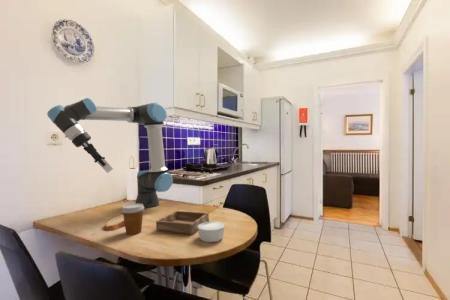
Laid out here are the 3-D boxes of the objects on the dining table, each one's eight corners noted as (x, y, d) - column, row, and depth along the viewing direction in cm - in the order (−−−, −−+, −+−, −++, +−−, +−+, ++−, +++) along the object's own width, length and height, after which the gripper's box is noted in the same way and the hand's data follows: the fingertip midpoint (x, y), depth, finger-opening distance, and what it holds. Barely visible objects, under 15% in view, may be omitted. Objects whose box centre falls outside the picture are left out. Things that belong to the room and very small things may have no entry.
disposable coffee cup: (117, 235, 103) (116, 208, 103) (131, 228, 113) (130, 202, 113) (136, 237, 101) (136, 208, 101) (149, 229, 110) (148, 203, 110)
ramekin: (210, 231, 106) (210, 219, 106) (230, 237, 99) (230, 224, 99) (192, 239, 98) (191, 226, 98) (212, 246, 91) (212, 232, 90)
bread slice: (105, 232, 109) (105, 224, 109) (100, 222, 124) (100, 215, 124) (145, 224, 119) (145, 217, 119) (137, 216, 134) (136, 209, 134)
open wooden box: (176, 219, 125) (176, 210, 125) (208, 222, 119) (208, 213, 119) (156, 231, 108) (156, 221, 108) (192, 234, 102) (192, 224, 102)
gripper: (75, 143, 121) (105, 175, 126) (65, 138, 99) (101, 177, 103) (88, 134, 124) (117, 165, 128) (81, 127, 101) (116, 165, 106)
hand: (110, 170), depth 116 cm, fingers open, 13 cm apart
